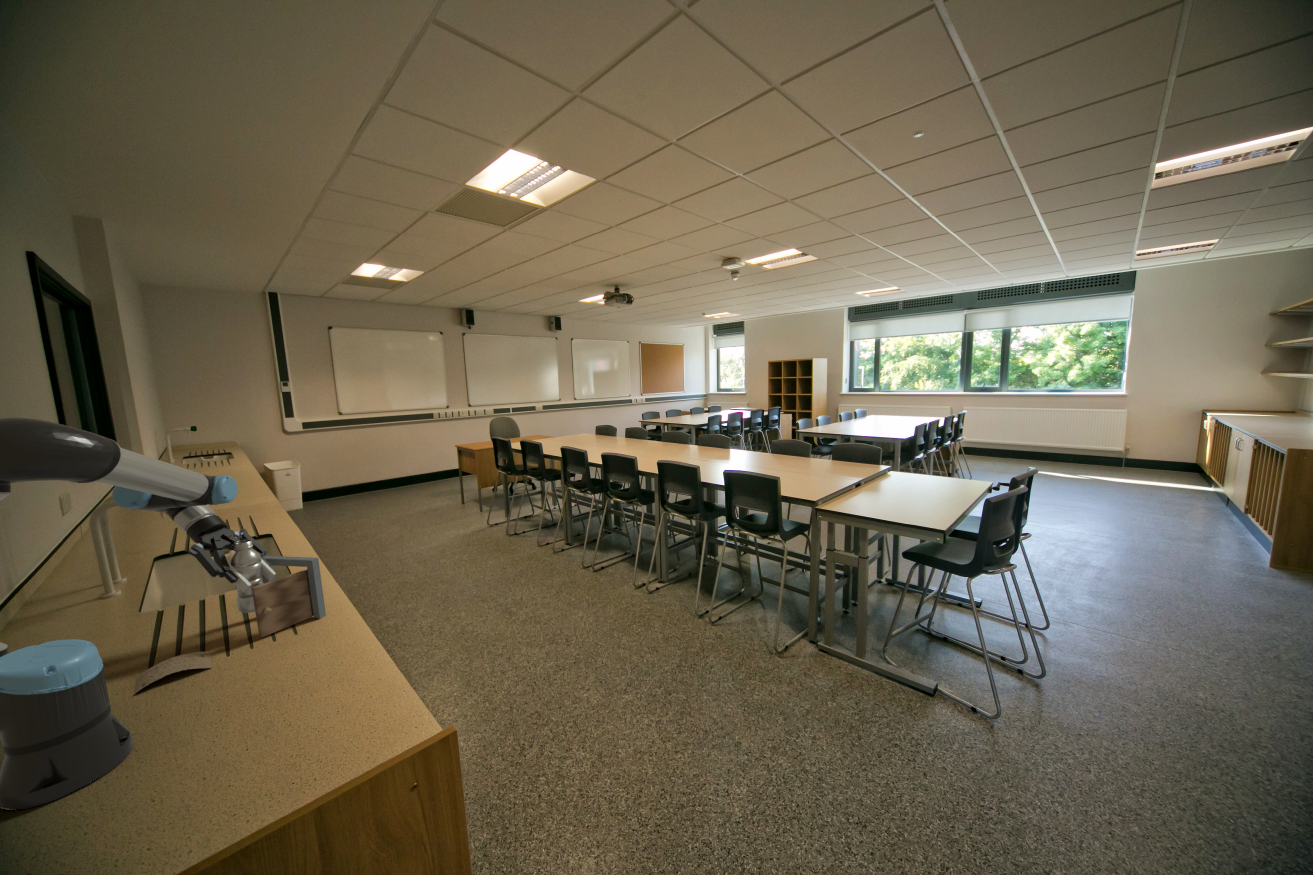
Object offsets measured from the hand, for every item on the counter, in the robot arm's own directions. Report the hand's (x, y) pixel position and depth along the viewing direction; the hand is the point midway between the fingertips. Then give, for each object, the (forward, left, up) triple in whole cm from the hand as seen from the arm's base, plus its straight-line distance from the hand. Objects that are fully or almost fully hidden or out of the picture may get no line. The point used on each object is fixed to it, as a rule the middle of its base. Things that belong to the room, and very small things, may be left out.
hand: (260, 582), depth 125 cm
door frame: (+9, 0, -15) cm, 17 cm away
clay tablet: (-18, +5, -15) cm, 24 cm away
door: (+3, -4, -14) cm, 15 cm away
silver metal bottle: (0, +4, -9) cm, 9 cm away
